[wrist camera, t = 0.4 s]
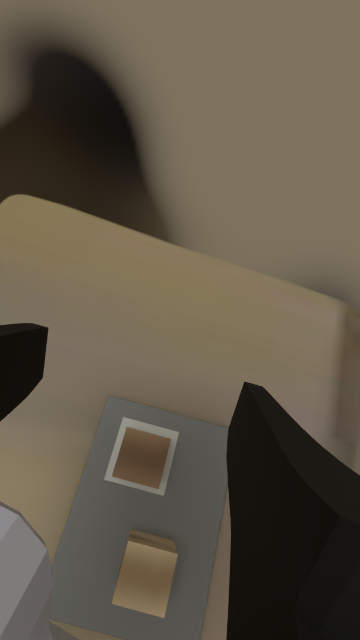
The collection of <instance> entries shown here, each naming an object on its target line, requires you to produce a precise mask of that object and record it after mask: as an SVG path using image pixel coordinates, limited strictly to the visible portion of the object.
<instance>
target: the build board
mask: <svg viewBox="0 0 360 640" xmlns="http://www.w3.org/2000/svg"><path fill="white" fill-rule="evenodd" d="M126 427H129V428H133V429H137V430H140V431H144V432H148V433H151V434H155V435H159V436H162V437H166V438H170V439H171V441H170V445H169V449H168V454H167V458H166V462H165V466H164V470H163V474H162V478H161V482H160V486H159V489H156V488H152V487H148V486H145V485H141V484H137V483H134V482H130V481H126V480H123V479H119V478H115V477H112V474H113V471H114V467H115V464H116V461H117V457H118V454H119V451H120V447H121V444H122V441H123V437H124V434H125V431H126ZM228 429H229V428H226V427H222V426H219V425H215V424H211V423H208V422H204V421H200V420H197V419H193V418H189V417H186V416H182V415H178V414H175V413H171V412H167V411H164V410H160V409H156V408H153V407H149V406H145V405H142V404H138V403H134V402H131V401H127V400H123V399H120V398H116V397H112V396H108V399H107V402H106V405H105V408H104V411H103V414H102V417H101V420H100V423H99V426H98V429H97V432H96V435H95V438H94V441H93V444H92V447H91V450H90V453H89V456H88V459H87V462H86V465H85V468H84V471H83V474H82V477H81V480H80V483H79V486H78V489H77V492H76V495H75V498H74V501H73V504H72V507H71V510H70V513H69V516H68V519H67V522H66V525H65V528H64V531H63V534H62V537H61V540H60V543H59V546H58V549H57V552H56V555H55V558H54V561H53V564H52V567H51V571H52V576H53V581H54V588H53V594H52V600H51V606H50V612H49V619H53V620H57V621H60V622H64V623H68V624H71V625H75V626H79V627H82V628H86V629H90V630H93V631H97V632H101V633H104V634H108V635H112V636H115V637H119V638H123V639H126V640H200V637H201V631H202V625H203V620H204V614H205V608H206V603H207V597H208V591H209V585H210V580H211V574H212V568H213V563H214V557H215V551H216V545H217V540H218V534H219V528H220V523H221V517H222V511H223V506H224V500H225V494H226V488H227V483H228V475H227V459H226V453H227V438H228ZM130 529H134V530H138V531H141V532H145V533H149V534H152V535H156V536H160V537H163V538H167V539H171V540H174V542H175V545H176V549H177V553H178V556H177V561H176V565H175V570H174V575H173V579H172V584H171V589H170V594H169V598H168V603H167V608H166V613H165V617H164V618H162V617H158V616H155V615H151V614H147V613H144V612H140V611H136V610H133V609H129V608H125V607H122V606H118V605H114V604H112V600H113V595H114V591H115V586H116V582H117V578H118V574H119V570H120V566H121V563H122V559H123V555H124V551H125V548H126V544H127V540H128V536H129V533H130Z"/></svg>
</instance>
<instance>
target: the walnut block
mask: <svg viewBox="0 0 360 640" xmlns="http://www.w3.org/2000/svg"><path fill="white" fill-rule="evenodd" d="M170 441H171V439H170V438H166V437H162V436H159V435H155V434H151V433H148V432H144V431H140V430H137V429H133V428H129V427H126V431H125V434H124V437H123V441H122V444H121V447H120V451H119V454H118V457H117V461H116V464H115V467H114V471H113V474H112V477H115V478H119V479H123V480H126V481H130V482H134V483H137V484H141V485H145V486H148V487H152V488H156V489H159V486H160V482H161V478H162V474H163V470H164V466H165V462H166V458H167V454H168V449H169V445H170Z"/></svg>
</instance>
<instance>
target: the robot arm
mask: <svg viewBox="0 0 360 640" xmlns="http://www.w3.org/2000/svg"><path fill="white" fill-rule="evenodd" d="M47 335H48V328H47V327H44V326H40V325H36V324H33V323H19V324H8V325H0V421H1V420H2V419H3V418H5V417H6V416H7V415H8V414H9V413H10V412H11V411H12V410H13V409H15V408H16V407H17V406H18V405H19V404H20V403H21V402H22V401H23V400H24V399H25V398H26V397H27V396H28V395H29V394H30V393H31V392H32V390H33V389H34V388H35V387H36V386H37V384H38V383H39V382H40V381H41V379H42V378H43V371H44V362H45V353H46V344H47ZM226 459H227V475H228V489H229V503H230V517H231V554H230V582H229V604H228V623H227V640H360V475H358V474H357V473H355V472H354V471H352V470H351V469H350V468H348V467H347V466H346V465H344V464H343V463H342V462H340V461H339V460H338V459H337V458H336V457H334V456H333V455H332V454H331V453H329V452H328V451H327V450H326V449H324V448H323V447H322V446H321V445H320V444H319V443H318V442H316V441H315V440H314V439H313V438H312V437H311V436H310V435H309V434H308V433H307V432H306V431H305V430H304V429H303V428H301V427H300V426H299V425H298V423H297V422H296V421H295V420H294V419H293V418H292V417H291V416H290V415H289V414H288V413H287V412H286V411H285V410H284V409H283V408H282V407H281V406H280V404H279V403H278V402H277V401H276V400H275V399H274V398H273V397H272V396H271V395H270V394H269V393H268V391H267V390H265V389H264V388H263V387H262V386H259V385H255V384H252V383H248V382H244V384H243V387H242V390H241V393H240V396H239V399H238V402H237V405H236V408H235V411H234V414H233V417H232V420H231V423H230V426H229V429H228V438H227V453H226ZM53 588H54V581H53V576H52V571H51V565H50V560H49V555H48V550H47V547H46V544H45V542H44V541H43V539H42V538H41V537H40V536H39V535H38V533H37V532H36V531H35V530H34V529H33V527H32V526H31V525H30V524H29V523H28V521H27V520H26V519H25V518H24V517H23V516H22V514H21V513H20V512H19V511H17V510H15V509H13V508H11V507H9V506H7V505H6V504H4V503H2V502H0V640H79V639H78V638H76V637H74V636H73V635H71V634H69V633H68V632H66V631H64V630H63V629H61V628H59V627H58V626H56V625H54V624H53V623H51V622H49V612H50V606H51V600H52V594H53Z"/></svg>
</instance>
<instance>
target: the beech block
mask: <svg viewBox="0 0 360 640" xmlns="http://www.w3.org/2000/svg"><path fill="white" fill-rule="evenodd" d="M177 556H178V553H177V549H176V545H175V542H174V540H171V539H167V538H163V537H160V536H156V535H152V534H149V533H145V532H141V531H138V530H134V529H130V533H129V536H128V540H127V544H126V548H125V551H124V555H123V559H122V563H121V566H120V570H119V574H118V578H117V582H116V586H115V591H114V595H113V600H112V604H114V605H118V606H122V607H125V608H129V609H133V610H136V611H140V612H144V613H147V614H151V615H155V616H158V617H162V618H164V617H165V613H166V608H167V603H168V598H169V594H170V589H171V584H172V579H173V575H174V570H175V565H176V561H177Z"/></svg>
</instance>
